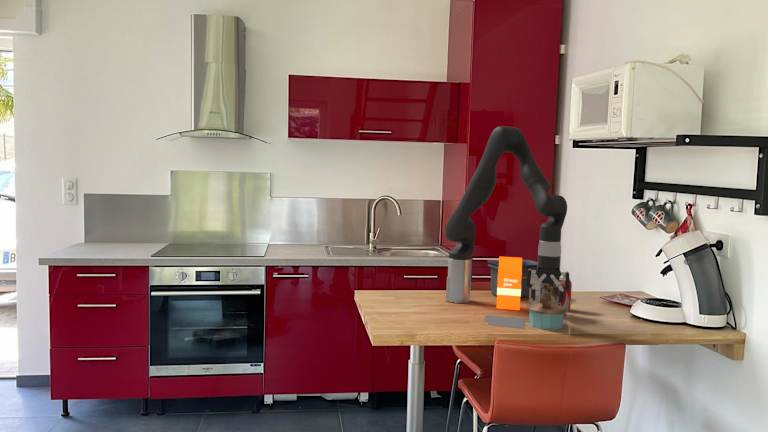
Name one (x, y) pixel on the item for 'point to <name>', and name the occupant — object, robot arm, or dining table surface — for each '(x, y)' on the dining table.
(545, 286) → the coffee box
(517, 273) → the orange juice
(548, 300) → the lid
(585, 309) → the dining table surface
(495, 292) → the storage bin
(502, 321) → the mat
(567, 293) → the beverage can
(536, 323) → the bowl
